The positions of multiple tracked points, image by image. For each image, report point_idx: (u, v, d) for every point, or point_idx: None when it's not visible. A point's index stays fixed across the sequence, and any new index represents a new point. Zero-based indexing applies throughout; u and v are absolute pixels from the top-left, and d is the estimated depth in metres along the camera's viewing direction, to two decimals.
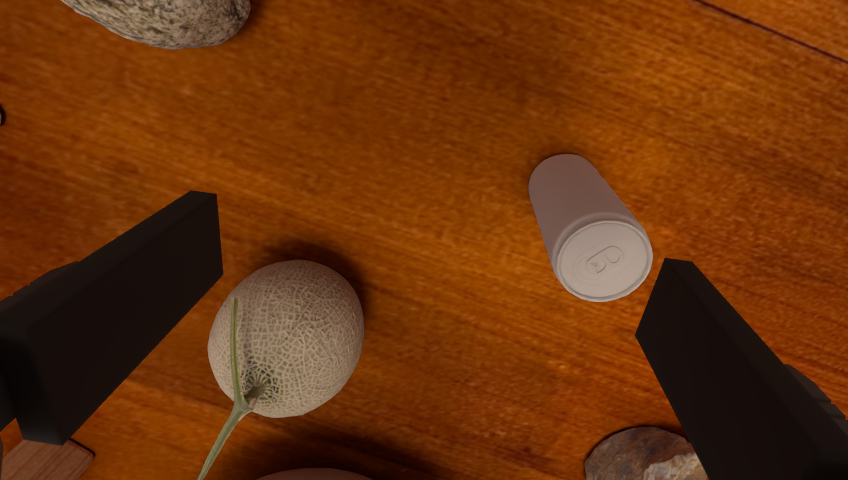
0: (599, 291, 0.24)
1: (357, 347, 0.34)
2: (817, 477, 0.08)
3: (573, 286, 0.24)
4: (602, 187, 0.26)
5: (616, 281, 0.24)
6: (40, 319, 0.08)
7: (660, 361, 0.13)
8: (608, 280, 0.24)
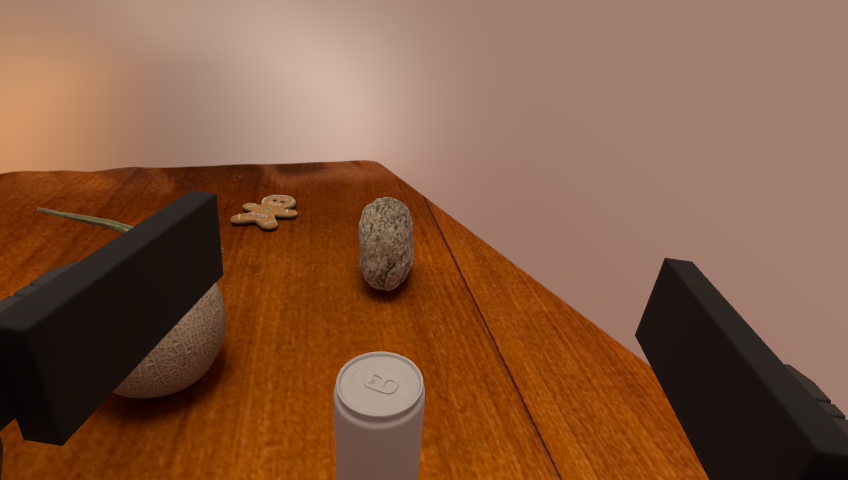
0: (350, 395, 0.24)
1: (153, 354, 0.33)
2: (817, 477, 0.08)
3: (344, 377, 0.25)
4: None
5: (367, 400, 0.24)
6: (40, 319, 0.08)
7: (660, 361, 0.13)
8: (365, 394, 0.24)
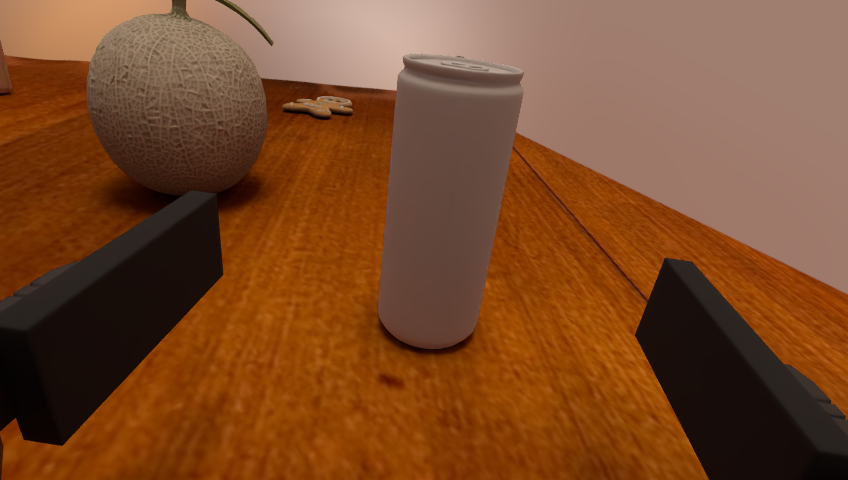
0: None
1: (178, 113, 0.27)
2: (817, 477, 0.08)
3: (413, 60, 0.18)
4: None
5: None
6: (41, 319, 0.08)
7: (660, 361, 0.13)
8: (443, 65, 0.17)
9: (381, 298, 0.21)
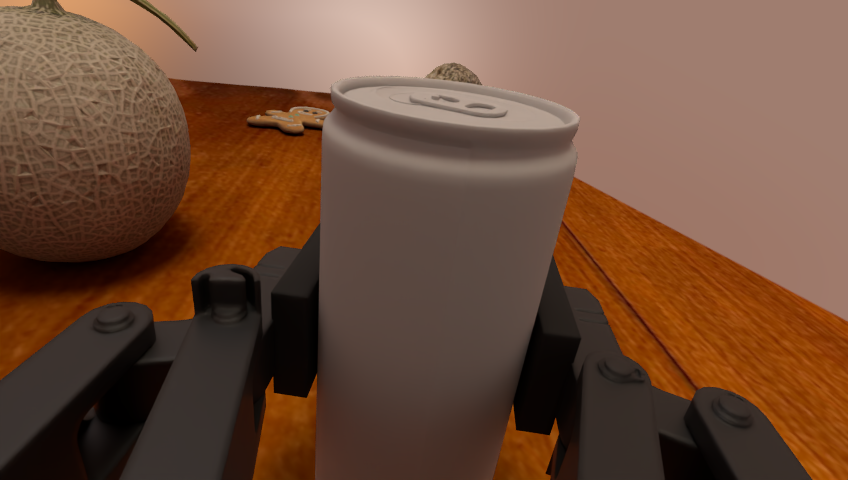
0: (367, 101, 0.08)
1: (30, 155, 0.18)
2: (548, 356, 0.10)
3: (357, 89, 0.09)
4: None
5: (418, 112, 0.08)
6: (311, 289, 0.10)
7: None
8: (412, 105, 0.08)
9: None
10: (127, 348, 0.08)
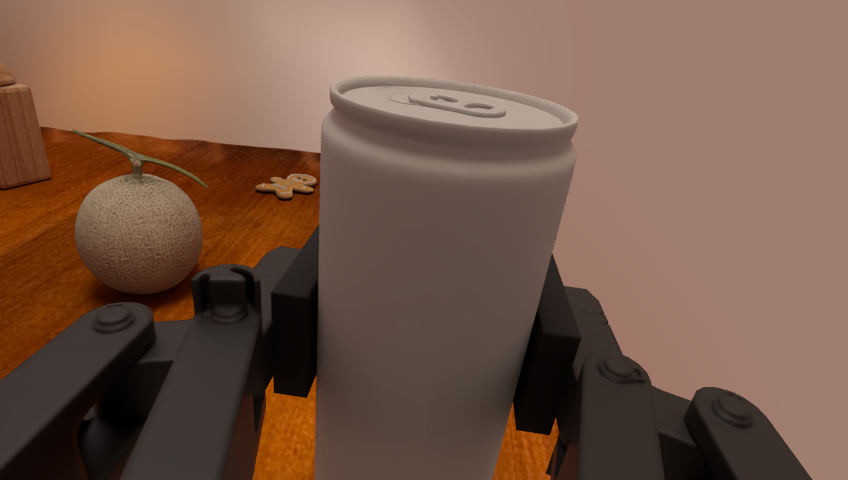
0: (366, 102, 0.08)
1: (128, 251, 0.41)
2: (548, 356, 0.10)
3: (356, 90, 0.09)
4: None
5: (417, 112, 0.08)
6: (311, 289, 0.10)
7: None
8: (411, 106, 0.08)
9: None
10: (128, 348, 0.08)
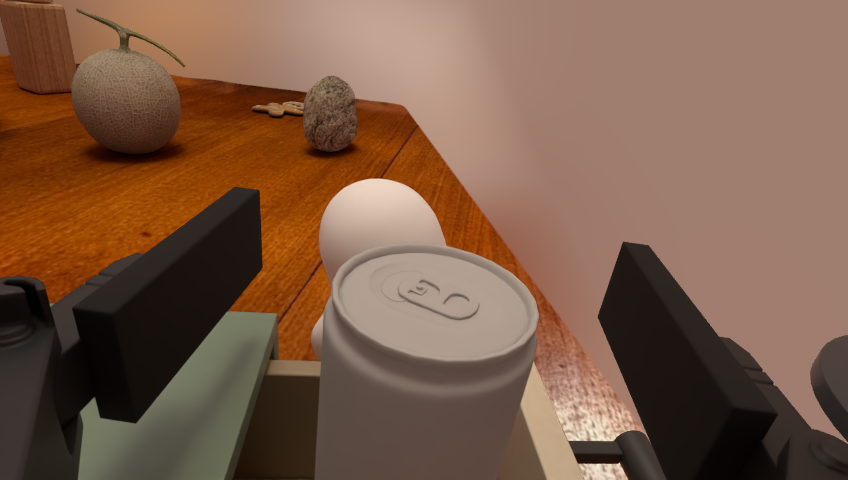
0: (362, 307, 0.10)
1: (110, 103, 0.50)
2: (734, 432, 0.08)
3: (353, 274, 0.11)
4: None
5: (404, 324, 0.09)
6: (124, 304, 0.09)
7: (616, 339, 0.13)
8: (399, 311, 0.10)
9: None
10: None
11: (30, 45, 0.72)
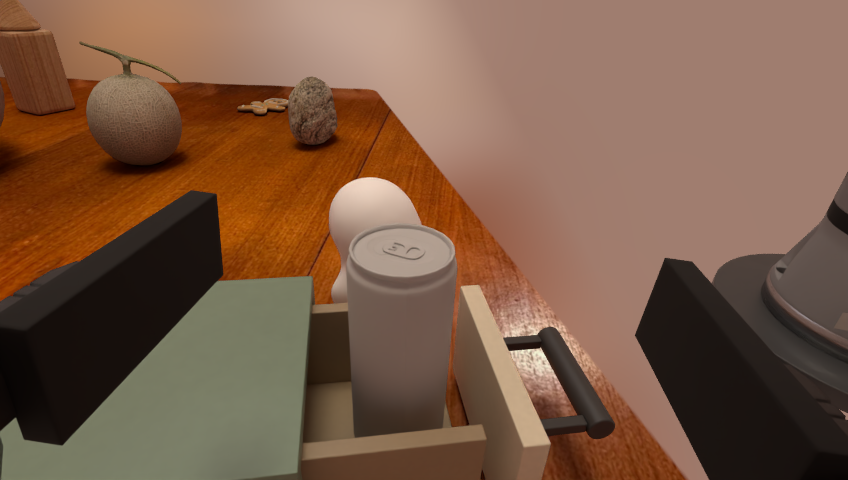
0: (365, 259, 0.19)
1: (123, 124, 0.58)
2: (817, 477, 0.08)
3: (358, 244, 0.21)
4: None
5: (387, 264, 0.19)
6: (40, 320, 0.08)
7: (660, 361, 0.13)
8: (384, 259, 0.19)
9: (355, 428, 0.24)
10: None
11: (26, 71, 0.78)
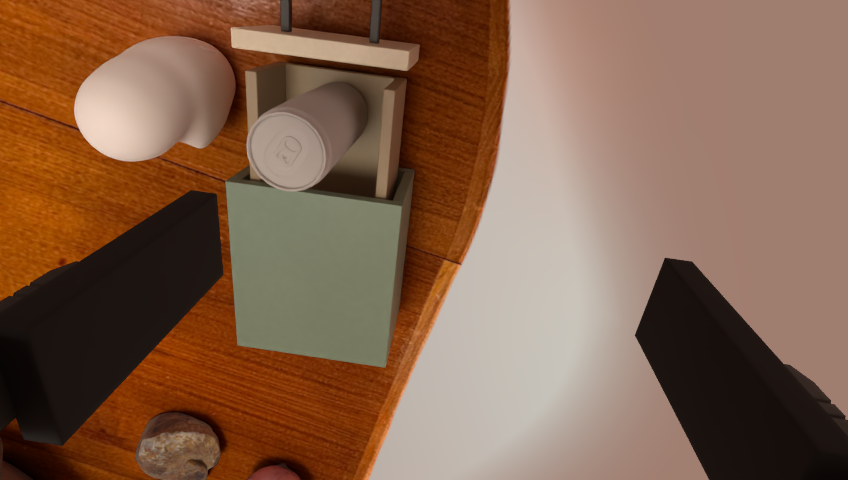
0: (298, 181, 0.27)
1: None
2: (817, 477, 0.08)
3: (276, 181, 0.27)
4: (310, 95, 0.29)
5: (306, 168, 0.27)
6: (40, 320, 0.08)
7: (660, 361, 0.13)
8: (299, 169, 0.27)
9: None
10: None
11: None
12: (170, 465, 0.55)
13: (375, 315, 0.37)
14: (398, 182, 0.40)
